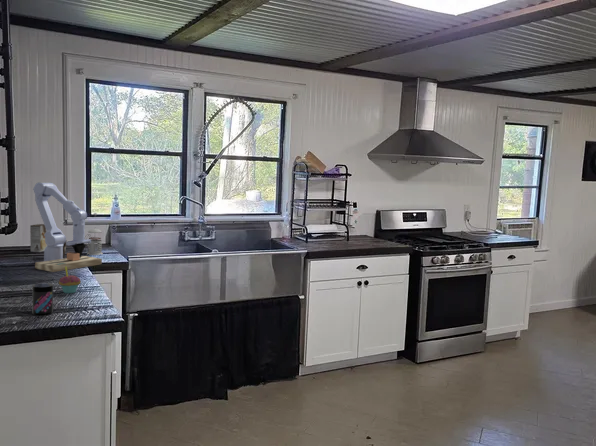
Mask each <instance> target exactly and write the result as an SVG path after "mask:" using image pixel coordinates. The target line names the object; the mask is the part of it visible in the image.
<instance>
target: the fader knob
mask: <svg viewBox="0 0 596 446" xmlns="http://www.w3.org/2000/svg"><path fill="white" fill-rule="evenodd" d="M66 258H67V260H72V261H74V260H80V253H75V251H69V252H66Z"/></svg>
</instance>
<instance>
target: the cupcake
mask: <svg viewBox="0 0 596 446" xmlns="http://www.w3.org/2000/svg"><path fill="white" fill-rule="evenodd" d="M64 271H65V275H64V276H62V277H60V278H59V280H58V284H59V286H61V288H62V289H61V290H62V292H63V293H64V294H74V293H77V290H78V289H77V288H78V286H79V285H80V284H81V283H82V282H81V279H80V277H78V276H77V275H69V273H68V270H67V266H66V265H65V270H64Z"/></svg>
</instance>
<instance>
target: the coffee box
mask: <svg viewBox="0 0 596 446" xmlns="http://www.w3.org/2000/svg"><path fill="white" fill-rule="evenodd" d="M46 231H47V230H46V228H45V225H44V223H41V224H40V223H37V224H32V225H30V231H29V232H30V234H29V235H30V241H29V242H30V253H31V252H33V253H42V252H44V250H45V248H46V247H47V244H46V243H45V236H44V234H45V233H46Z"/></svg>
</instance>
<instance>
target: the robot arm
mask: <svg viewBox="0 0 596 446" xmlns="http://www.w3.org/2000/svg"><path fill="white" fill-rule="evenodd" d="M32 190H33V193H34V196H35V197H34V198H35V199H34V201H35V204H36V206H37V209H38V211H39V215H40V217H41V219H42V222H43V224H44V225H45V228H46V230H47V231H46V233H45V234H44V236H45V243H46V244H47V247H46V248H45V250H44V251H43V261H50V260H58V259H64V258H63V246H64V243H65V242H66V240H67V237H66V235H65V234H64V233H63V231H62V230H61V229H60V228H58V226H57V224H56V220H55V218H54V215H53V213H52V210H51V207H50V205H49V202H48V201H49V199H50V198H51V197H53V198H55V199H56V200H57V201H58V202H59V203H60V204H62V208H63V210H64V211H66V212H67V213H68V214H69V215H70V219H71V220H72V226H73V227H72V232H73V233H72V240H69V241H67V242H66V246H69V247H70V246H71V247H72V248H73V250H74V251H73V252H75V253H80V258H81V256H83V255H82V254H83V252H84V249H85V248H86V246H87V244H88V243H91V240H92V239H89V238H87V239H86V237H85V236H86V231H85V229H86V226H85V225H86V220H87V218H88V213H87V211H86V210H85V209H81V208H80V207H79V206H78V205H77V204H75V201H74V200H71V199H68V198H66V197H65V195H64V194H63V193H62V192H61V191H60V190H59V189H58V186H57V185H56V184H55V183H53V182H49V181H48V182H41V181H39V182H37V183H35V185H34V187H33V189H32Z"/></svg>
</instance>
